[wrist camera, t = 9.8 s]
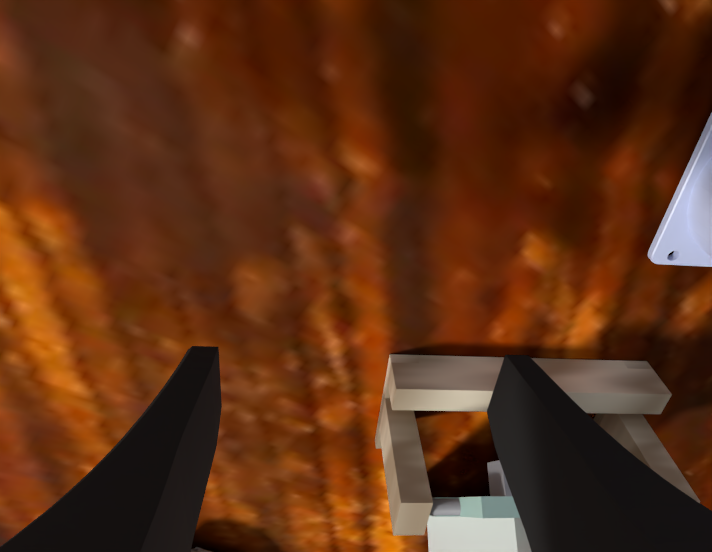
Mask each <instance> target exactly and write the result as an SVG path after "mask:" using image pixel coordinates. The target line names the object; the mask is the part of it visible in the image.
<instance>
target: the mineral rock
mask: <svg viewBox="0 0 712 552" xmlns="http://www.w3.org/2000/svg"><path fill="white" fill-rule="evenodd" d="M191 552H212V551H208V550H204V549H201V548H199V547H196V548H193V549H191Z"/></svg>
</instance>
